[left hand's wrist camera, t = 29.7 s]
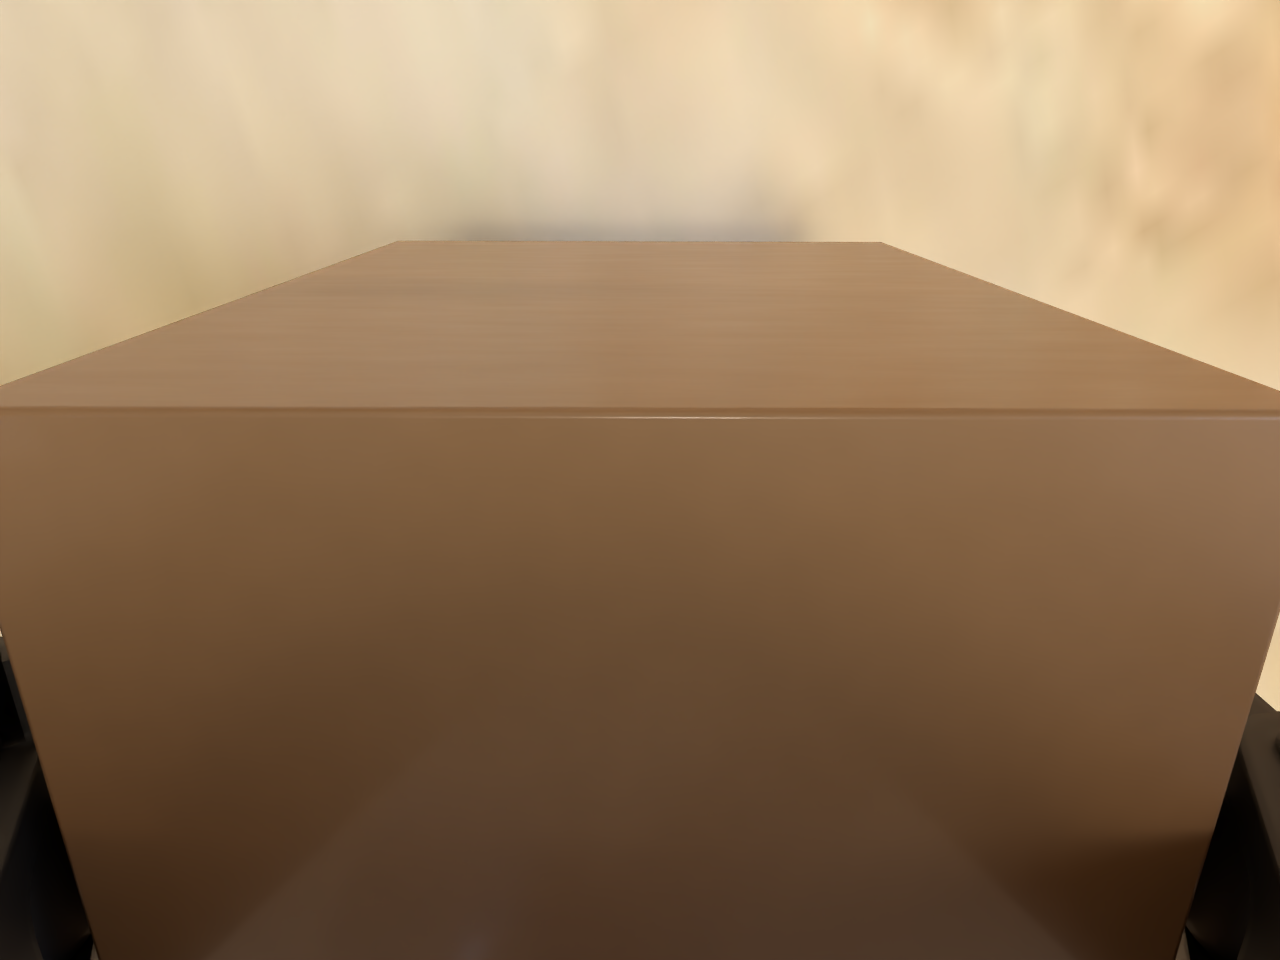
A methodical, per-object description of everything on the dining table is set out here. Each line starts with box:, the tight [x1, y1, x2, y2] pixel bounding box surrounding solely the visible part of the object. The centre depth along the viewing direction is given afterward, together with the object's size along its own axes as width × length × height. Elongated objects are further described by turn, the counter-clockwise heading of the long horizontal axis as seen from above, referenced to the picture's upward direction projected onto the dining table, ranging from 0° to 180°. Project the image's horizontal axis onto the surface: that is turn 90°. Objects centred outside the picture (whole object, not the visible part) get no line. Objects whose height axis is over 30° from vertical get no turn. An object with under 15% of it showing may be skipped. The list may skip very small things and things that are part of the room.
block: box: [0, 241, 1280, 960], centre depth 11 cm, size 8×8×10 cm
